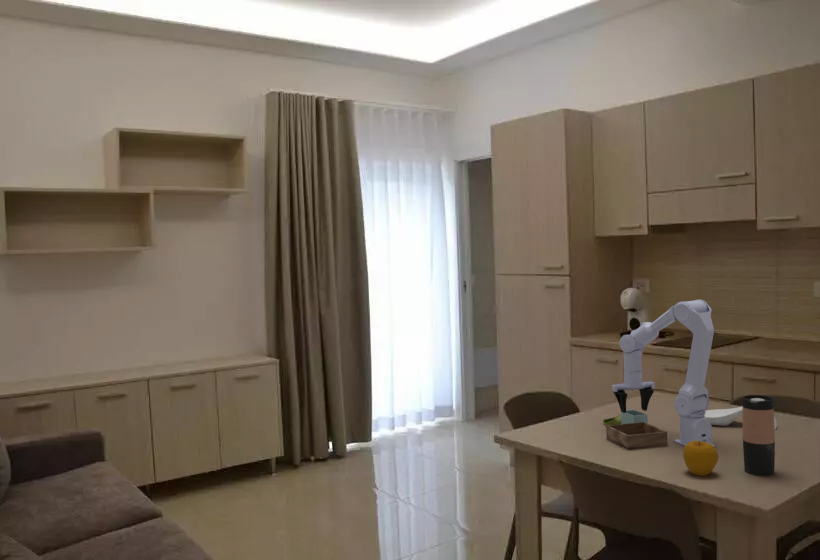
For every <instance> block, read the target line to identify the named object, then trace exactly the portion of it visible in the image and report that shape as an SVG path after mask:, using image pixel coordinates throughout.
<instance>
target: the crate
mask: <svg viewBox="0 0 820 560" xmlns="http://www.w3.org/2000/svg"><path fill="white" fill-rule="evenodd" d="M605 426H606V425H605ZM605 431H606V440H608V441H610V442H612V443H613V444H615V445H618V446H619V447H621V448H623V449H625V450H627V451H634V450H635V451H636V450H643V449H651V448H652V449H653V448H660V447H668V431H666V430H664V429H662V428H659V427H657V426H654V425H652V424H649V422H648V423H645V422H637V423H628V424H618V425H609V426H606V429H605Z"/></svg>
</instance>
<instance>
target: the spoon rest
mask: <svg viewBox="0 0 820 560" xmlns="http://www.w3.org/2000/svg"><path fill="white" fill-rule="evenodd" d="M705 413H706V414H705V418H706V420H708V421H709V422H710V423H711V425H712V426H716V425H717V427H720V426H721V427H726V426H729V425H731V424H732V423H733V422H735V420H737V419H738V418H739V417H740V416H743V415H742V406H738V407H733V408H732V407H731V408H724V409H723V408H721V409H719V408H716V409H707V410H705ZM718 425H719V426H718ZM777 427H778V424H777V420H776V417H775V416H774V430H775V431H776V430H777Z"/></svg>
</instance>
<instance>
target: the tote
mask: <svg viewBox="0 0 820 560" xmlns="http://www.w3.org/2000/svg"><path fill="white" fill-rule="evenodd" d="M620 415H621V424H628V423H637V422H645V423H648V424H649V421H648V420H649V419H648V418H649V417H648V414H646V413H644V412H641V411H639V410H636V409H626V413H623V412H621V411H620Z"/></svg>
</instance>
